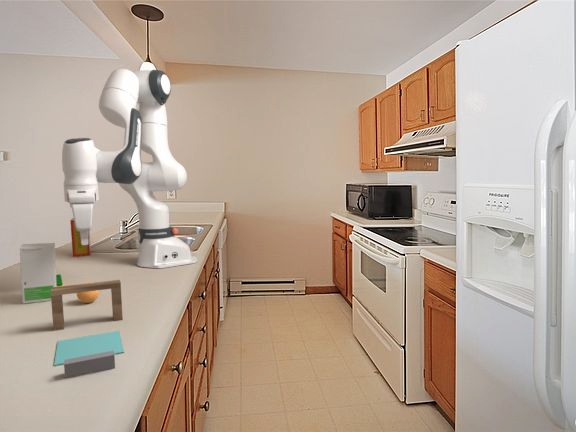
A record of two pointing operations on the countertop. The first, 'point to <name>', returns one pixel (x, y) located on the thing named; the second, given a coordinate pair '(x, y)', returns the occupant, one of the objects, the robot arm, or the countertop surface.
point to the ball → (88, 296)
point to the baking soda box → (79, 242)
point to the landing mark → (88, 346)
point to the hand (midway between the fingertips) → (84, 242)
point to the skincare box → (37, 271)
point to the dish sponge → (59, 280)
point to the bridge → (59, 291)
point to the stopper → (89, 364)
